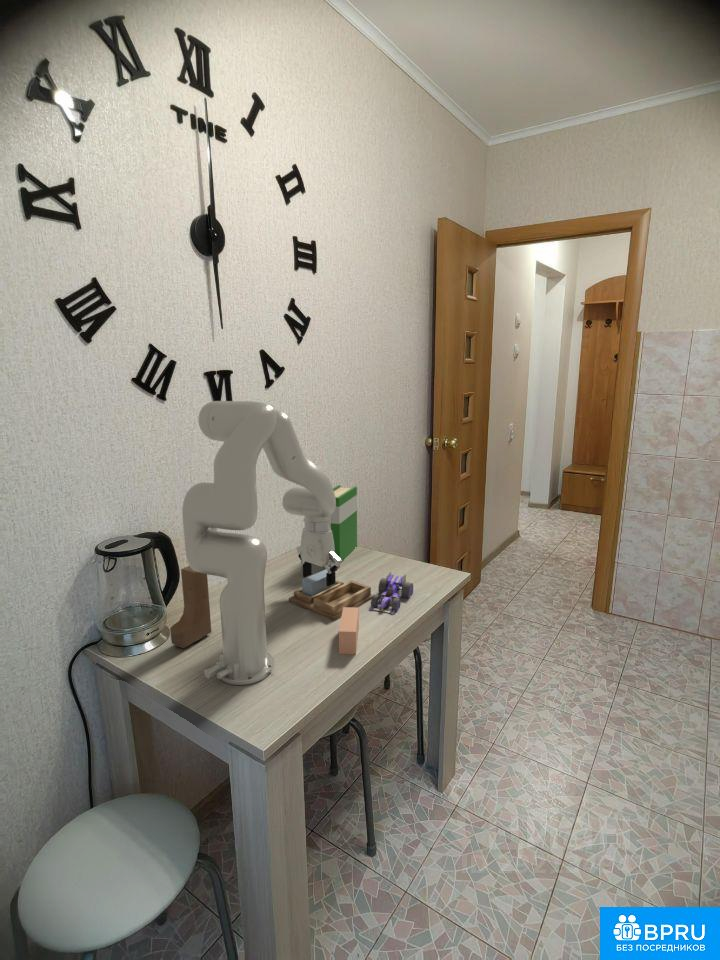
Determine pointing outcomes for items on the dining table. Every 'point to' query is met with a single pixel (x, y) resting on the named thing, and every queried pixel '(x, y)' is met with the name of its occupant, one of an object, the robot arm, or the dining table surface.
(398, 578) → the toy race car
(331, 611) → the jig
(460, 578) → the dining table surface
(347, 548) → the hardback book
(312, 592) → the light blue block
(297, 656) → the dining table surface
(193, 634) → the wooden block
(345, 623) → the salmon orange rectangular block
